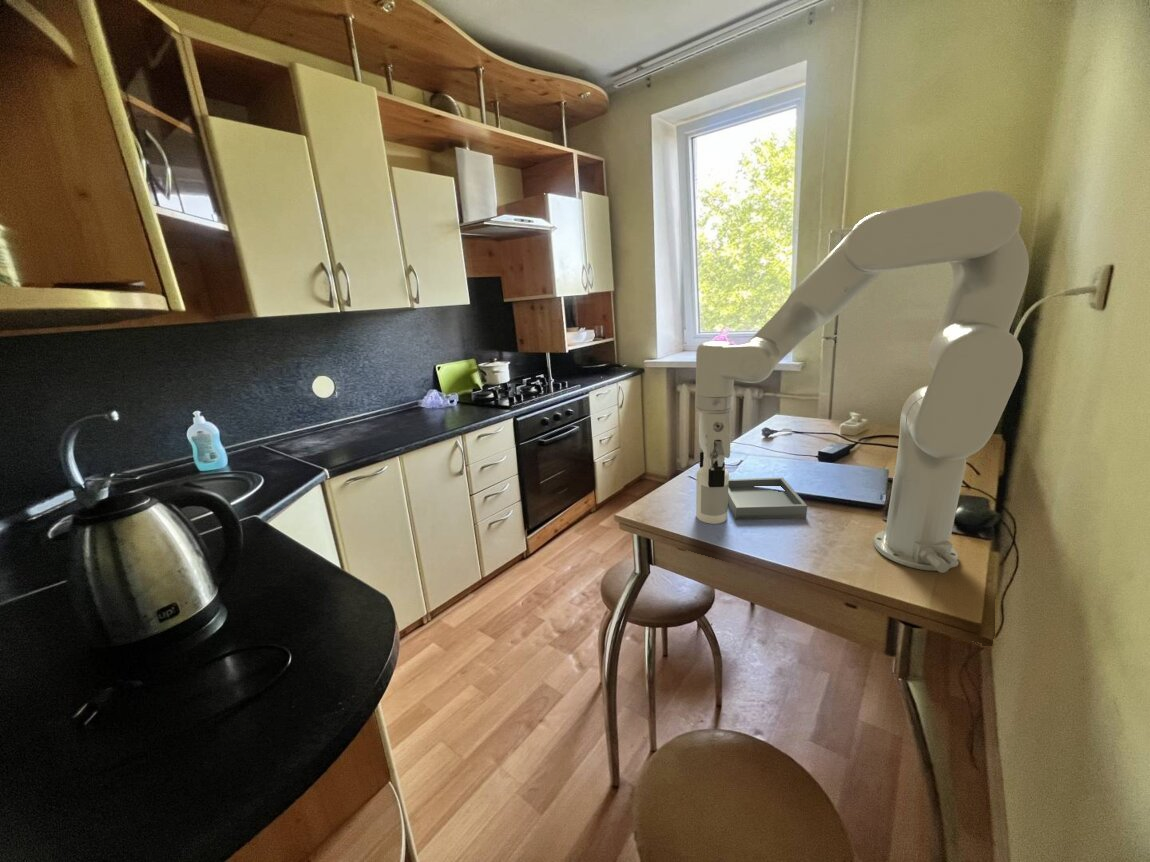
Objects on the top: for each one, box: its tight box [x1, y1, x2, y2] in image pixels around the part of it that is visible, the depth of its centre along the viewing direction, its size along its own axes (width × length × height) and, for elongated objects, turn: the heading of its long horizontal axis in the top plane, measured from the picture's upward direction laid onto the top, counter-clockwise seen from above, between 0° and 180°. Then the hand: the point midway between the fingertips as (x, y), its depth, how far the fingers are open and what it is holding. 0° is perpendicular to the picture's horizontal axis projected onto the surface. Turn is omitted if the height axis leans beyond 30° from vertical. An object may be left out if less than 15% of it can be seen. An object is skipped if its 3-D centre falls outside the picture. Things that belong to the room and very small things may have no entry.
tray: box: [728, 477, 808, 521], centre depth 106 cm, size 15×15×3 cm
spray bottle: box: [695, 446, 730, 525], centre depth 99 cm, size 7×7×18 cm
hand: (711, 477), depth 99 cm, fingers open, 9 cm apart
